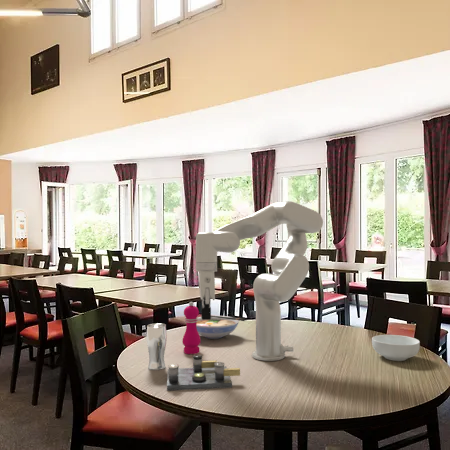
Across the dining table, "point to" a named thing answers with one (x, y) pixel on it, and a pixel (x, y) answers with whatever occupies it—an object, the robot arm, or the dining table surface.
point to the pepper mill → (191, 330)
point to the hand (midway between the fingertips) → (206, 318)
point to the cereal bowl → (395, 346)
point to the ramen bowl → (217, 326)
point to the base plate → (198, 380)
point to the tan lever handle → (201, 363)
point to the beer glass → (156, 345)
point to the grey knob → (225, 371)
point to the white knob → (173, 372)
